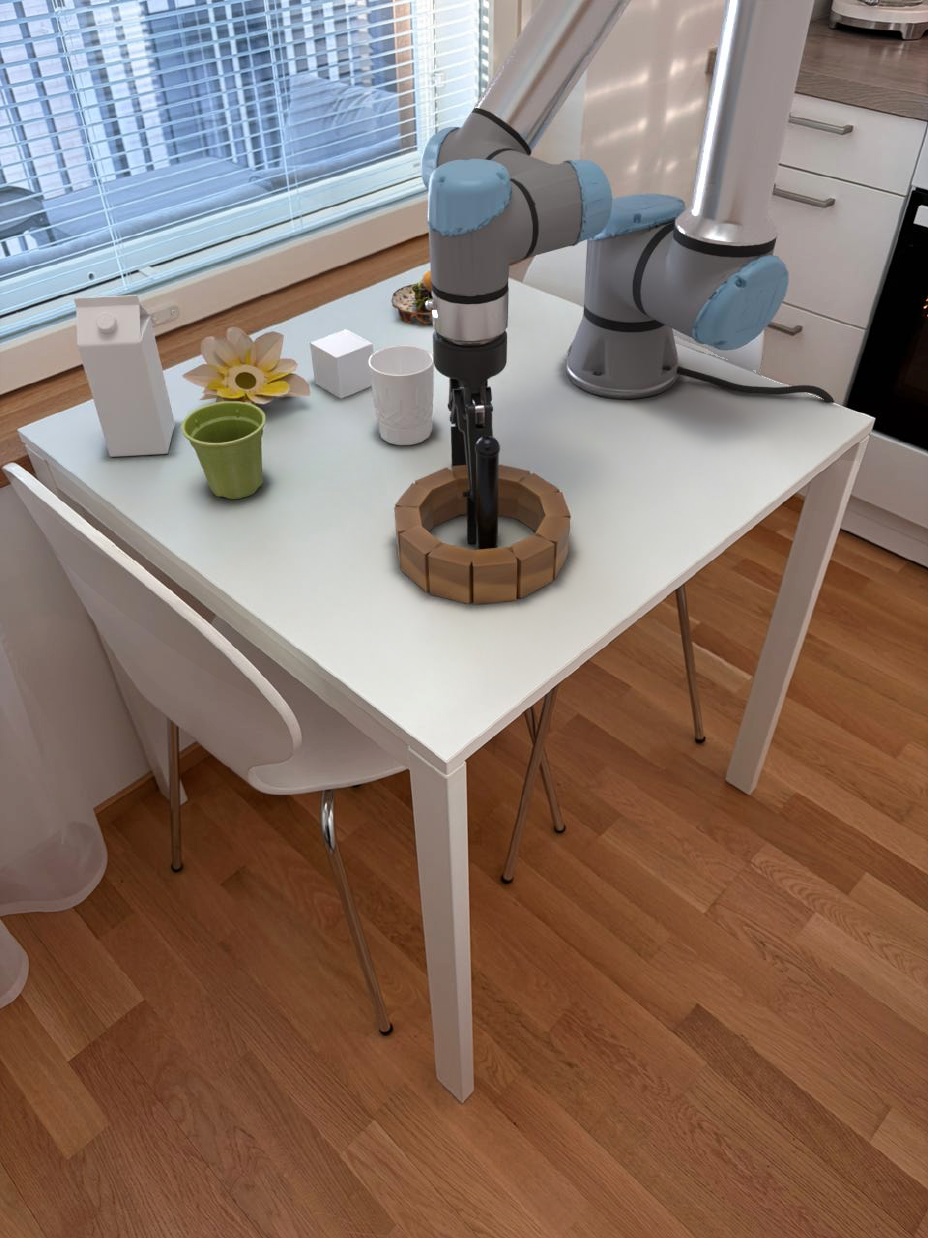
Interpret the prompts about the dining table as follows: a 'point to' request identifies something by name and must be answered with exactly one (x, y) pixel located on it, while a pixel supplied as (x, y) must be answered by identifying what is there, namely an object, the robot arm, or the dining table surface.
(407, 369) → the white cup
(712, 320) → the robot arm
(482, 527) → the peg
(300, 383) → the decorative flower
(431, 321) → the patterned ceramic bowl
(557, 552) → the ring
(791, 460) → the dining table surface
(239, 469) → the plant pot
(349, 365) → the white cube
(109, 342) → the milk carton
